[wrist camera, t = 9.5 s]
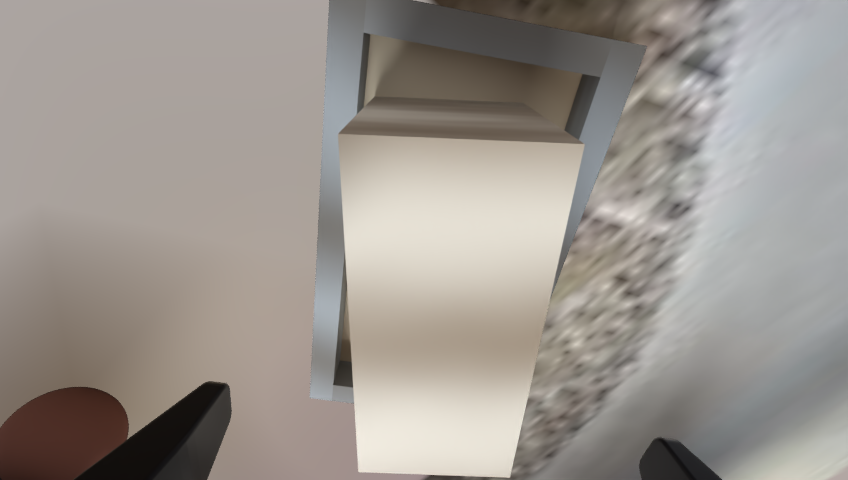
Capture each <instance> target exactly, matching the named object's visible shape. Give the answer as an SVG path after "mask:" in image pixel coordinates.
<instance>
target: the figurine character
mask: <svg viewBox="0 0 848 480" xmlns="http://www.w3.org/2000/svg"><path fill="white" fill-rule="evenodd" d="M128 429H129V424H128V418H127V414H126V412H125V410H124V408H123V406H122V405H121V403H120V402H119V401H118V400H117V399H116V398H114V397H113V396H111V395H110V394H108V393H106V392H104V391H101V390H98V389H94V388H88V387H70V388H64V389H58V390H55V391H52V392H48V393H46V394H43V395H41V396H39V397H37V398H35V399H33V400H31V401H29V402H28V403H26V404H25V405H23V406H22V407H21V408H19V409H18V410H17V411H16V412H14V413H13V414H12V416H10V417H9V418H8V419H7V421H6V422H4V424H3V425H2V427H1V428H0V480H73V479H74V478H76V477H77V476H78V475H80V474H81V473H83V472H84V471H85V470H87V469H88V468H89V467H91V466H92V465H93V464H95V463H96V462H97V461H99V460H100V459H102V458H103V457H104V456H106V455H107V454H108V453H110V452H111V451H112V450H114V449H115V448H116V447H118V446H119V445H121V444H122V443H123V442H125V441H126V440H127V436H128Z"/></svg>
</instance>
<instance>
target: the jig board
mask: <svg viewBox="0 0 848 480" xmlns="http://www.w3.org/2000/svg"><path fill="white" fill-rule="evenodd" d="M646 48H647V46H644V45H639V44H634V43H629V42H624V41H619V40H613V39H608V38H603V37H598V36H593V35H588V34H583V33H577V32H572V31H567V30H562V29H557V28H552V27H547V26H542V25H536V24H531V23H526V22H521V21H516V20H511V19H506V18H501V17H495V16H490V15H485V14H480V13H475V12H470V11H465V10H460V9H454V8H449V7H444V6H439V5H434V4H429V3H424V2H419V1H413V0H329V18H328V37H327V58H326V79H325V99H324V119H323V140H322V160H321V179H320V200H319V220H318V241H317V261H316V281H315V302H314V322H313V343H312V363H311V383H310V385H311V386H310V398H315V399H322V400H330V401H338V402H346V403H354V391H353V375H352V358H351V342H350V325H349V309H348V292H347V276H346V259H345V243H344V226H343V210H342V193H341V177H340V160H339V144H338V133H339V132H340V131H341V130H342V129H343V128H344V127H345V126H346V125H347V124H348V123H349V122H350V121H351V120H352V119H353V118H354V117H355V116H356V115H357V114H358V113H359V112H360V111H361V110H362V109H363V108H364V107H365V106H366V105H367V104H368V103H369V102H370V101H371V100H372V99H373V98H374V96H380V97H404V98H427V99H451V100H475V101H498V102H522V103H524V104H525V105H527V106H528V107H530V108H531V109H533V110H534V111H536V112H537V113H539V114H540V115H542V116H543V117H545V118H546V119H548V120H549V121H551V122H552V123H554V124H555V125H557V126H558V127H560V128H561V129H563V130H564V131H566V132H567V133H569V134H570V135H572V136H573V137H575V138H576V139H578V140H579V141H581V142H582V143H584V144H585V146H584V151H583V155H582V160H581V164H580V168H579V173H578V177H577V182H576V186H575V191H574V195H573V199H572V204H571V208H570V213H569V217H568V222H567V226H566V231H565V235H564V239H563V244H562V248H561V253H560V257H559V262H558V266H557V270H556V275H555V279H554V284H553V288H552V293H553V291H554V288H555V285H556V283H557V280H558V278H559V275H560V272H561V270H562V267H563V264H564V262H565V259H566V257H567V254H568V251H569V249H570V246H571V244H572V241H573V238H574V236H575V233H576V231H577V228H578V225H579V223H580V220H581V218H582V215H583V212H584V210H585V207H586V205H587V202H588V199H589V197H590V194H591V192H592V189H593V186H594V184H595V181H596V179H597V176H598V173H599V171H600V168H601V165H602V163H603V160H604V158H605V155H606V152H607V150H608V147H609V145H610V142H611V139H612V137H613V134H614V132H615V129H616V126H617V124H618V121H619V119H620V116H621V113H622V111H623V108H624V106H625V103H626V100H627V98H628V95H629V93H630V90H631V87H632V85H633V82H634V80H635V77H636V74H637V72H638V69H639V66H640V64H641V61H642V59H643V56H644V53H645V51H646ZM552 293H551V296H552ZM550 298H551V297H550Z"/></svg>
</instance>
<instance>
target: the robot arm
mask: <svg viewBox="0 0 848 480" xmlns="http://www.w3.org/2000/svg"><path fill="white" fill-rule="evenodd" d="M231 411H232V410H231V398H230V388H229V386H228V384H226V383H221V382H213V381H209V382H205V383H203V384H202V385H201V386H199V387H198V388H197V389H195V390H194V391H192V392H191V393H190V394H188V395H187V396H186V397H185V398H183V399H182V400H180V401H179V402H178V403H176V404H175V405H173V406H172V407H171V408H169V409H168V410H167V411H165V412H164V413H163V414H161V415H160V416H159V417H157V418H156V419H154V420H153V421H152V422H150V423H149V424H148V425H146V426H145V427H144V428H142V429H141V430H140V431H138V432H137V433H135V434H134V435H133V436H131V437H130V438H129V439H127V440H126V441H125V442H123V443H122V444H121V445H119V446H118V447H116V448H115V449H114V450H112V451H111V452H110V453H108V454H107V455H106V456H104V457H103V458H102V459H100V460H99V461H97V462H96V463H95V464H93V465H92V466H91V467H89V468H88V469H87V470H85V471H84V472H83V473H81V474H80V475H78V476H77V477H76V478H74V479H73V480H207V479H208V476H209V473H210V471H211V468H212V466H213V463H214V461H215V458H216V456H217V453H218V450H219V448H220V445H221V443H222V440H223V438H224V435H225V432H226V430H227V427H228V425H229V422H230V418H231ZM639 469H640V474H641V478H642V480H722V479H721V478H720V477H719V476H718V475H716V474H715V473H714V472H713V471H712V470H711V469H710V468H709V467H707V466H706V465H705V464H704V463H703V462H702V461H701V460H700V459H698V458H697V457H696V456H695V455H694V454H693V453H692V452H691V451H689V450H688V449H687V448H686V447H685V446H684V445H683V444H681V443H680V442H679V441H677V440H675V439H669V438H661V437H658V438H655V439H654V440H653V441H652V443H651V444H650V446H649V447H648V449H647V450H646V452H645V453H644V455H643V456H642V458H641V460H640V464H639Z"/></svg>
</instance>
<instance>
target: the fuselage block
mask: <svg viewBox="0 0 848 480" xmlns="http://www.w3.org/2000/svg"><path fill="white" fill-rule="evenodd" d="M338 144H339V160H340V177H341V193H342V210H343V226H344V243H345V259H346V276H347V292H348V309H349V325H350V342H351V358H352V375H353V391H354V408H355V424H356V441H357V457H358V472H365V473H366V472H367V473H394V474H395V473H396V474H422V475H450V476H479V477H507V478H510V475H511V470H512V466H513V461H514V457H515V452H516V448H517V444H518V439H519V435H520V430H521V426H522V421H523V417H524V412H525V408H526V404H527V399H528V395H529V390H530V386H531V381H532V377H533V373H534V368H535V364H536V359H537V355H538V350H539V346H540V341H541V337H542V333H543V328H544V324H545V319H546V315H547V310H548V306H549V302H550V297H551V293H552V288H553V284H554V279H555V275H556V270H557V266H558V262H559V257H560V253H561V248H562V244H563V239H564V235H565V231H566V226H567V222H568V217H569V213H570V208H571V204H572V199H573V195H574V191H575V186H576V182H577V177H578V173H579V168H580V164H581V160H582V155H583V151H584V146H585V144H584V143H582V142H581V141H579V140H578V139H576V138H575V137H573V136H572V135H570V134H569V133H567V132H566V131H564V130H563V129H561V128H560V127H558V126H557V125H555V124H554V123H552V122H551V121H549V120H548V119H546V118H545V117H543V116H542V115H540V114H539V113H537V112H536V111H534V110H533V109H531V108H530V107H528V106H527V105H525V104H524V103H522V102H498V101H475V100H451V99H427V98H404V97H380V96H374V98H373V99H372V100H371V101H370V102H369V103H368V104H367V105H366V106H365V107H364V108H363V109H362V110H361V111H360V112H359V113H358V114H357V115H356V116H355V117H354V118H353V119H352V120H351V121H350V122H349V123H348V124H347V125H346V126H345V127H344V128H343V129H342V130H341V131H340V132H339V133H338Z"/></svg>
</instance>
